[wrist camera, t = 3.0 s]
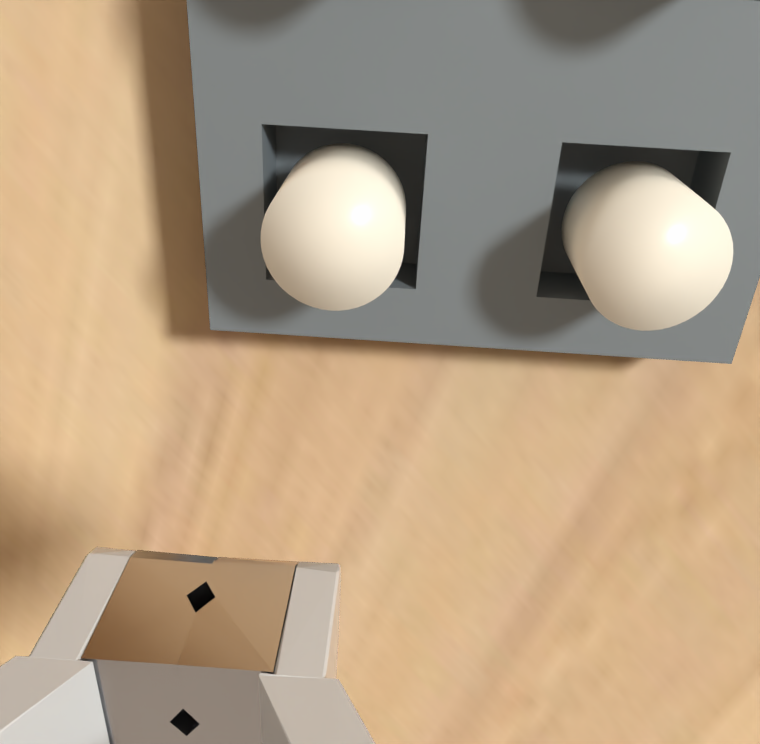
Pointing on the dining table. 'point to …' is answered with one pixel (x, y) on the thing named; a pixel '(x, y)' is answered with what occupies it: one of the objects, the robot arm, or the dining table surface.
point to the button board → (477, 153)
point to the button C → (645, 246)
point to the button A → (336, 228)
